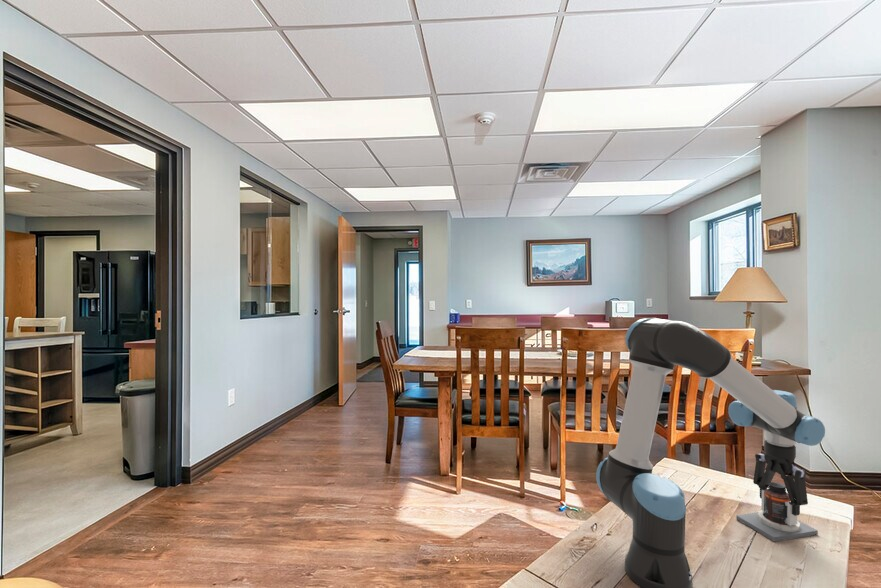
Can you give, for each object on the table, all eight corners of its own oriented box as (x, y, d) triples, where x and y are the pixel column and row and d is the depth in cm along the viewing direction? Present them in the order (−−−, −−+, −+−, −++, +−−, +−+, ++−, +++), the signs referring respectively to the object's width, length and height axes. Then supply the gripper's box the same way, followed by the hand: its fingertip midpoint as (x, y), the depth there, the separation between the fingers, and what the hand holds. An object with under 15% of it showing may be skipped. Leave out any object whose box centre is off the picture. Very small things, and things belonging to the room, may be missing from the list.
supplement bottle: (795, 528, 125) (794, 490, 125) (772, 526, 127) (771, 488, 127) (783, 518, 131) (782, 481, 131) (761, 516, 132) (761, 479, 133)
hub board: (774, 541, 121) (774, 533, 121) (736, 519, 133) (736, 511, 133) (817, 534, 125) (817, 526, 125) (777, 513, 136) (777, 505, 136)
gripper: (826, 454, 120) (824, 534, 120) (758, 430, 139) (757, 499, 140) (805, 456, 118) (804, 538, 118) (739, 432, 138) (738, 502, 138)
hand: (778, 517), depth 129 cm, fingers open, 7 cm apart
